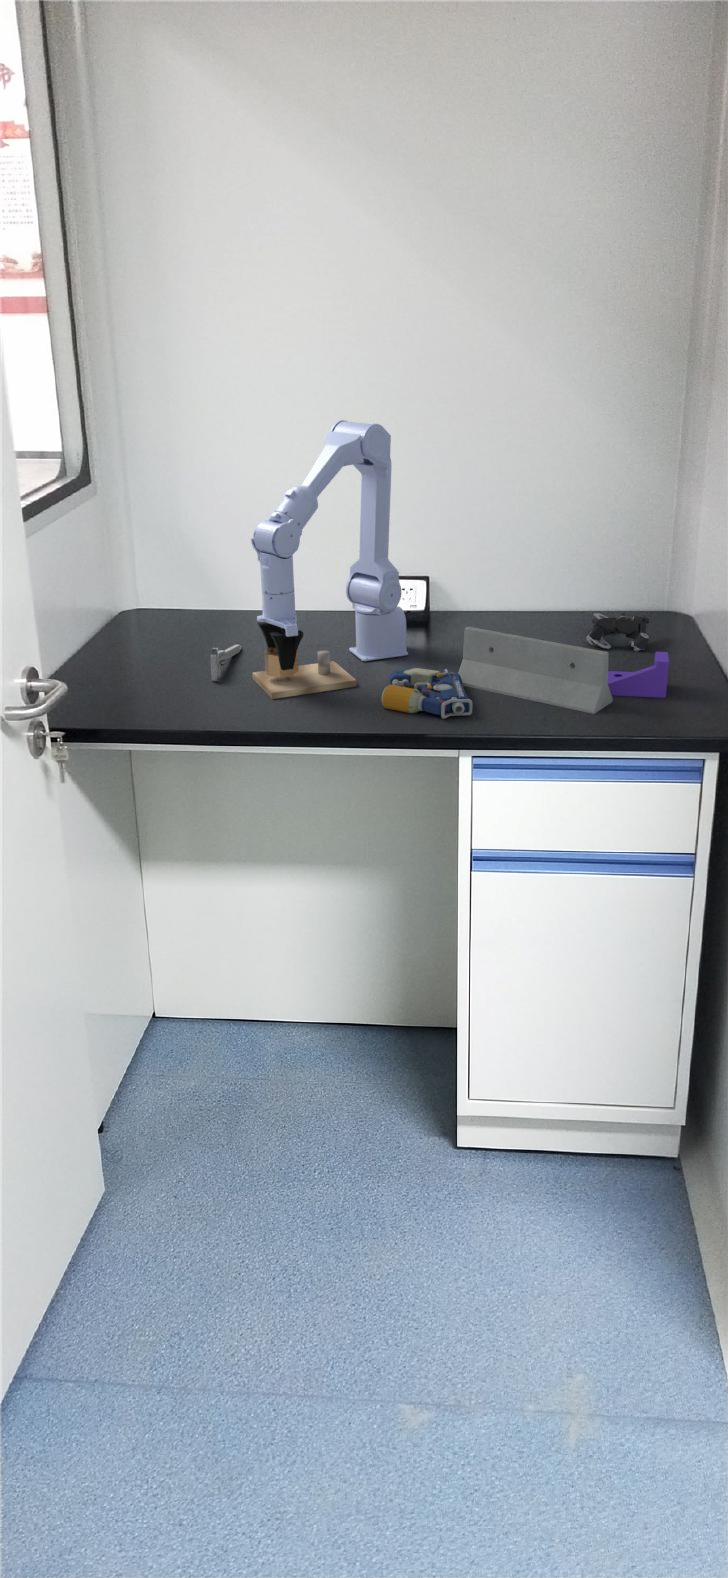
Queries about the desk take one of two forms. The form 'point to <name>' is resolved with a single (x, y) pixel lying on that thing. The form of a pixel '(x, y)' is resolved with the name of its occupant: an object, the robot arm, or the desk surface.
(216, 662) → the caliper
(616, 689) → the bracket
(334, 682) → the wooden peg board
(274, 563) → the robot arm
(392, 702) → the toy blaster gun
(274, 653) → the ring
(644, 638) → the bicycle component
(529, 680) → the barrier
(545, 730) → the desk surface
